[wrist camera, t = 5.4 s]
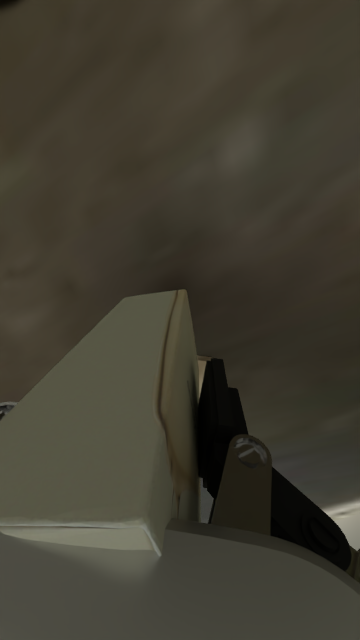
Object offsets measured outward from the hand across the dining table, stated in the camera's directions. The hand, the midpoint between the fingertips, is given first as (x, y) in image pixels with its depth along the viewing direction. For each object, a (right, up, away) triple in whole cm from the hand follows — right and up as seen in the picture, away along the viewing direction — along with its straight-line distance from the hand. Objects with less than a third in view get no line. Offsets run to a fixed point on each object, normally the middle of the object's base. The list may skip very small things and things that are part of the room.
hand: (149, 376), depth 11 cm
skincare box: (0, +2, +4) cm, 5 cm away
